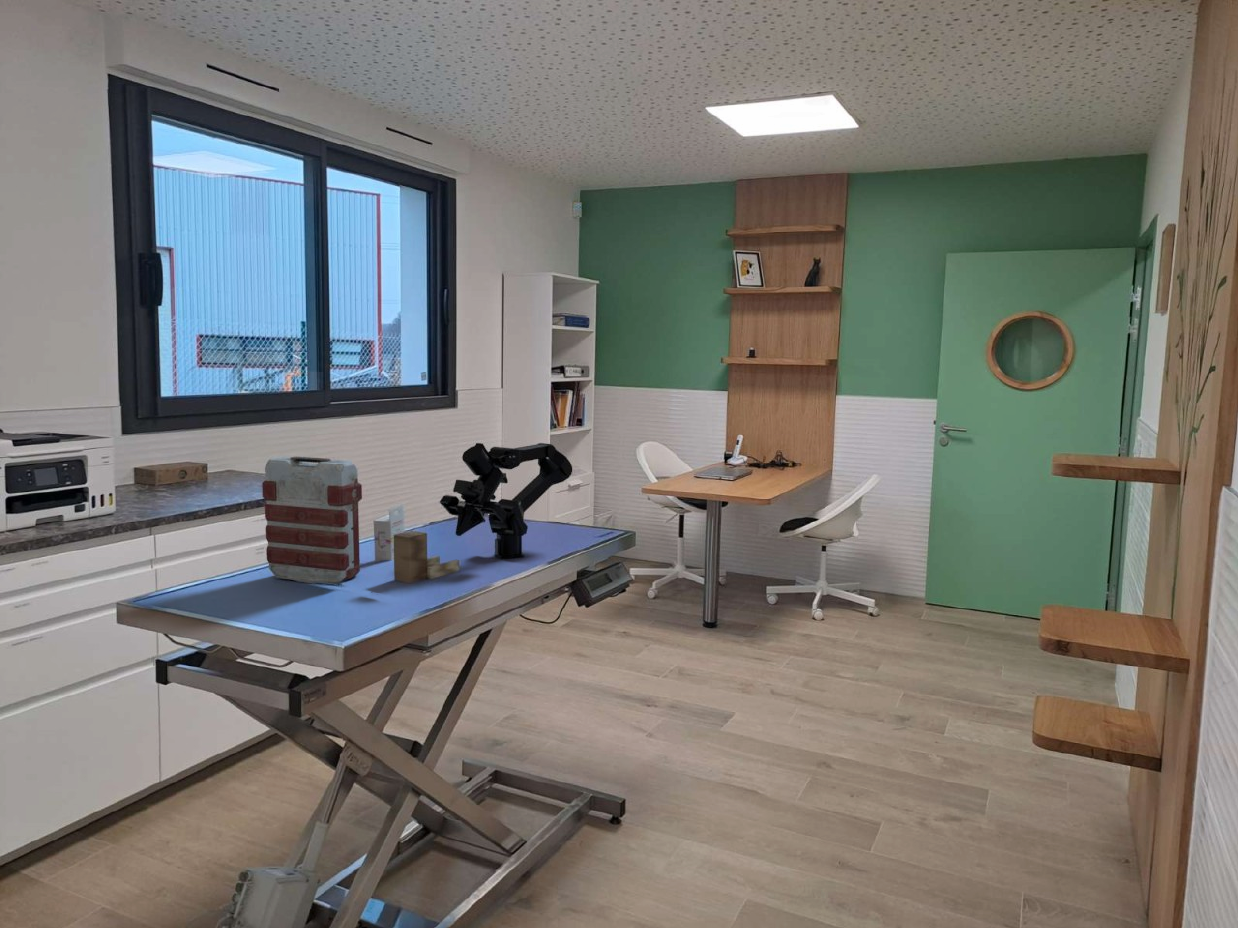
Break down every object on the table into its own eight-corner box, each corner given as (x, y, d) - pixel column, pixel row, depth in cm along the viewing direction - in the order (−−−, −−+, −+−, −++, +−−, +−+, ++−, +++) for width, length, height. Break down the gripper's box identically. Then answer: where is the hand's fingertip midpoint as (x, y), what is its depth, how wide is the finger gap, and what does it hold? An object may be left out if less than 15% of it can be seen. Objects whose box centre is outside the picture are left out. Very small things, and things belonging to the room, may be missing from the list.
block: (412, 574, 221) (412, 530, 220) (427, 577, 218) (426, 533, 217) (394, 579, 216) (393, 534, 215) (409, 583, 213) (408, 537, 212)
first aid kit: (365, 580, 220) (362, 458, 216) (344, 588, 212) (340, 462, 209) (287, 571, 228) (283, 453, 224) (264, 579, 220) (259, 457, 216)
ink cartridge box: (388, 556, 245) (387, 503, 243) (405, 557, 244) (404, 504, 242) (373, 564, 236) (372, 508, 235) (391, 565, 236) (390, 509, 234)
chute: (439, 568, 232) (438, 553, 232) (468, 574, 227) (468, 559, 226) (386, 583, 217) (385, 567, 217) (416, 590, 212) (415, 573, 211)
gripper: (444, 464, 237) (414, 512, 229) (498, 470, 227) (469, 521, 219) (465, 490, 245) (436, 537, 237) (518, 497, 235) (491, 546, 227)
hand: (457, 535), depth 230 cm, fingers closed
